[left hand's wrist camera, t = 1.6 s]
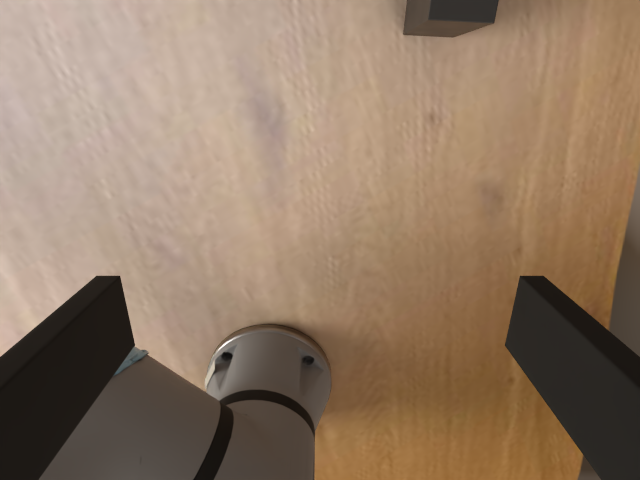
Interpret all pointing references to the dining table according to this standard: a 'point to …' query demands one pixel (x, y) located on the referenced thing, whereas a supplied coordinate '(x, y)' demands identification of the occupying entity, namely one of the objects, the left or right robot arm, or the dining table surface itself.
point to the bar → (448, 16)
